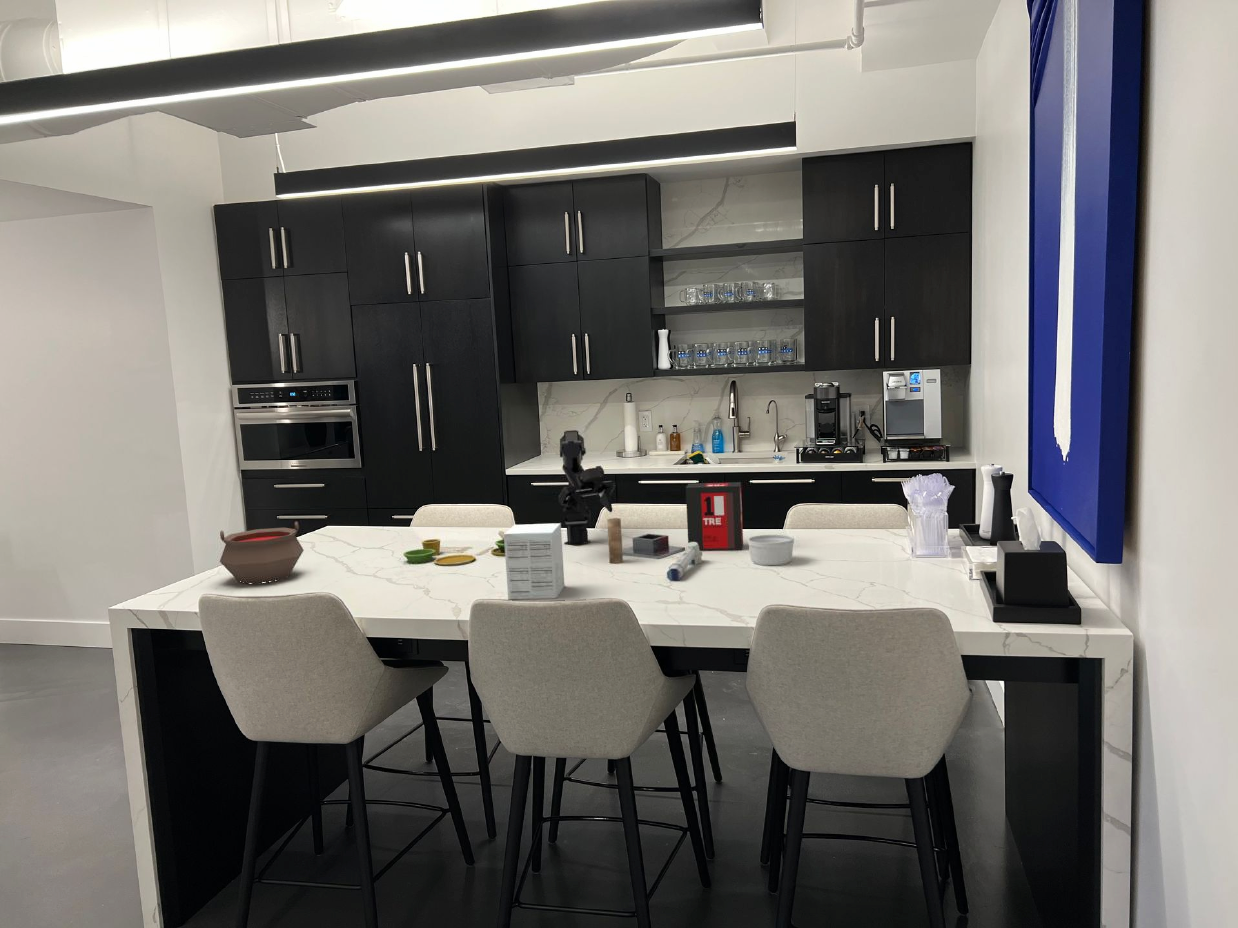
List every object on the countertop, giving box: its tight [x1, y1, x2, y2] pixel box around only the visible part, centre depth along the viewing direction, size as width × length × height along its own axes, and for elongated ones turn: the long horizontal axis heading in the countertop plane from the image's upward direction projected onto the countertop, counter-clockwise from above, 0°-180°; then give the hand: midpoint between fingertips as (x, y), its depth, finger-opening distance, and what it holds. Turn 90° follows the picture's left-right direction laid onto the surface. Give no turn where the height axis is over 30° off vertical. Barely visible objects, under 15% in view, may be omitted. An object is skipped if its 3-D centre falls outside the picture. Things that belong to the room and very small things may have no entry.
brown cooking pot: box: [219, 521, 305, 584], centre depth 279 cm, size 24×24×16 cm
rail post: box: [606, 517, 624, 565], centre depth 276 cm, size 4×4×13 cm
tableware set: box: [403, 530, 506, 567], centre depth 295 cm, size 41×28×6 cm
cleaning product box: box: [685, 481, 744, 552], centre depth 288 cm, size 16×9×20 cm, turn 80°
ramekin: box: [747, 533, 795, 566], centre depth 266 cm, size 13×13×7 cm
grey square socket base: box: [622, 533, 686, 560], centre depth 288 cm, size 16×14×5 cm
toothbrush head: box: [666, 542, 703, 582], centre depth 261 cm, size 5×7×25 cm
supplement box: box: [504, 522, 566, 600], centre depth 244 cm, size 13×13×18 cm
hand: (599, 513), depth 282 cm, fingers open, 9 cm apart
